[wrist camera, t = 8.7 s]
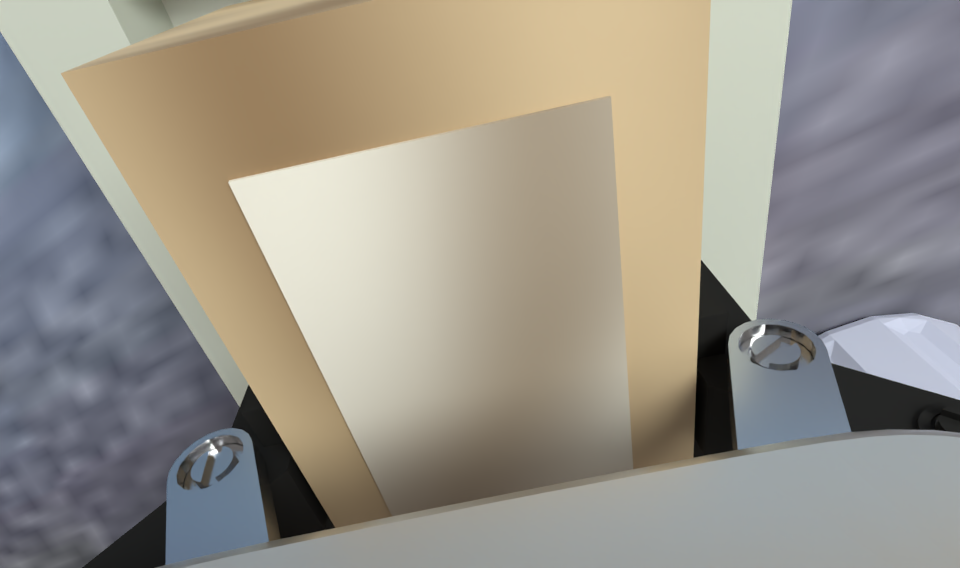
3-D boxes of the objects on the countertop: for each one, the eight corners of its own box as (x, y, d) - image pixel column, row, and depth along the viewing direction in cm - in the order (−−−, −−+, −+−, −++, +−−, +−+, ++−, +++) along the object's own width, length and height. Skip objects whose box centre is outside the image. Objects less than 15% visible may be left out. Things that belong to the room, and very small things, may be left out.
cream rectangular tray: (753, -288, 10) (887, -376, 7) (712, 386, 20) (761, 465, 17) (8, -103, 11) (-151, -114, 8) (324, 463, 21) (307, 553, 18)
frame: (579, -77, 9) (716, -80, 5) (619, 440, 16) (688, 622, 12) (227, 6, 9) (58, 74, 5) (422, 479, 16) (421, 671, 12)
